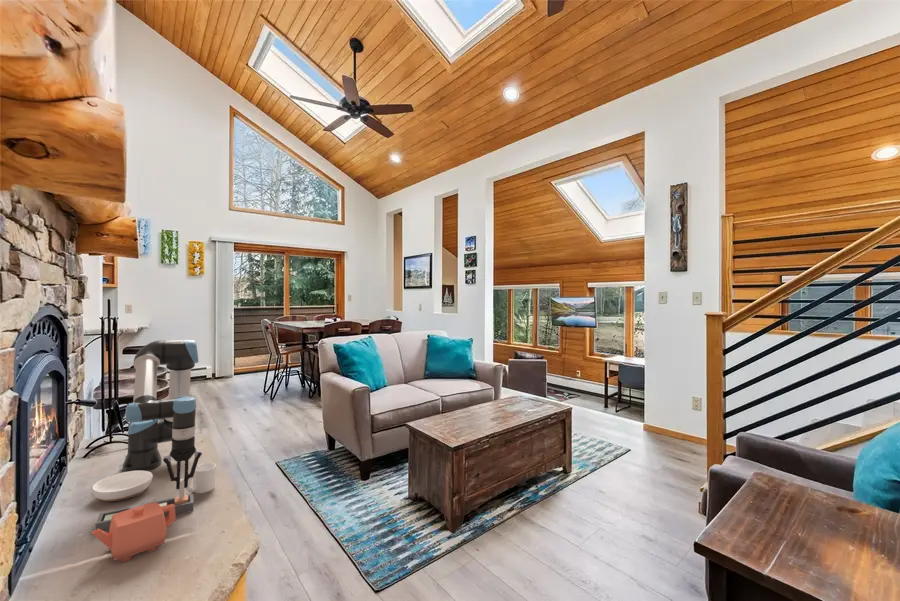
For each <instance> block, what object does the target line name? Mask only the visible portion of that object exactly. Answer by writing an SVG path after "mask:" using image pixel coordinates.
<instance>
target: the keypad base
mask: <svg viewBox="0 0 900 601" xmlns="http://www.w3.org/2000/svg"><path fill="white" fill-rule="evenodd" d="M187 495H188V502H187V503H183V504H178V505H175V497H170V498H166V499H161V500H157V501H155V502H157V503H158V504H162V503H166V502H167V505H170V504H174V505H175V516H176V515H181V514H184V513H189V512H193V511H194V507H195V506H194V504H195V503H194V501H195V500H194V499H195V498H194V493H190V494H187ZM153 502H154V501H152V502H151V501H150V502H147V503H145V504H149V503H153ZM130 507H131V506H128V507H124V508H118V509H114V510H107V511H104V512H99V515H98V517H97V520H96V522H95V525H94V526H95V527H94V528H95V529H94V530H97V529H100V530H103V531H105V532H107V531H109V529H110V524H111V519H110V520H105V521H104V518H105V515H110V514H115V513H119V512H122V511H125V510H128V509H129V508H130ZM164 517H165V518H167V517H168V511H166V512H164Z"/></svg>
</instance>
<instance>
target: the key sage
mask: <svg viewBox="0 0 900 601" xmlns="http://www.w3.org/2000/svg"><path fill="white" fill-rule="evenodd" d="M115 514H116V513H115ZM112 515H114V514H110V515H105V518H104V521H105V520H110V519H112Z"/></svg>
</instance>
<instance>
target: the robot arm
mask: <svg viewBox="0 0 900 601" xmlns="http://www.w3.org/2000/svg"><path fill="white" fill-rule="evenodd" d="M132 363H133V368H134V369H135V377H134V388H133V402H131V403H127V404H126V407H125V421H126V423H129V425H128V431H127V435H128V436H127V437H128V438H127V454H126V456H125V459H124V461H123V464H122V473H123V472H128V471H140V470H141V471H151V470H153V469H156V468H157V467H159V466H161V464H162V461H163V463H164V464H165V465H166V469H167V472H168V476H169V479H170V482H175V483H176V484H175V490H178V491H179V495H178V496H179V498H183V497H184V495H185V489H186V488H187V487H188V479H189V478H192V477H193V476H194V472H195V469H196V466H198V462H199V460H200V457H201V456H202V455H203V452H202V450H197V448H196V447H195V440H196V438H195V437H196V436H195V435H196V410H197V409H196V408H197V403H196V400H197V399H196V398H195V397H192V396H190V394H191V392H190V391H191V376H192V375H191V372H192V369H194V368H195V366H196V365H195V364H197V363H199V352H198V346H197V341H196V340H194V339H172V340H171V339H168V340H155V341H151V342H150V343H149V342H148V344H146V345H144V346H143V347H142V348H140V349H139V350H138V352H136V354H135V356H134V358H133V362H132ZM164 365H165V366H166V367H165V368H166V370H168V371H169V379H168V380H169V382H168V383H169V384H168V385H169V386H168V399H160V400H159V399H158V400H157V393H158V392H157V391H158V390H157V388H158V368H159V367H160V366H164ZM168 442H171V451H170V453H169V454H167V455H166V456H163V458H162V455H161V453H160V451H159V449H158V448H159V444H161V443H168ZM193 455H194V459H193V462H192V467H191V469H190V471H189V461H190V459H191V458H192V457H193ZM172 459H173V460H174V461H175V462H176V476H175V473H174V469H173V466H172V463H171V460H172ZM182 462H184V477H183V478H181V470H182V469H181V467H182V465H181V464H182Z"/></svg>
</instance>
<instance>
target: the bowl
mask: <svg viewBox="0 0 900 601" xmlns="http://www.w3.org/2000/svg"><path fill="white" fill-rule="evenodd" d="M153 477H154V475H153V473H152V471H150V470H148V471H141V470H140V471H128V472H123V471H122V472H120V473H114V474H113V475H112V474H111V475H109V476H107V477H106V476H105V477H104V478H102V479H100V480H98V481H97V482H95V483H94V484H93V486H92V493H93V495H94V496H95V497H94V498H96V499H98V500H101V501H103V502H108V503H109V502H117V501H124V500H127V499H130V498H134V497H136V496H138V495H139V494H141V493H143V492H144V491H146V489H147V488H148V487H149V486H150V485H151V483H152V480H153Z"/></svg>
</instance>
